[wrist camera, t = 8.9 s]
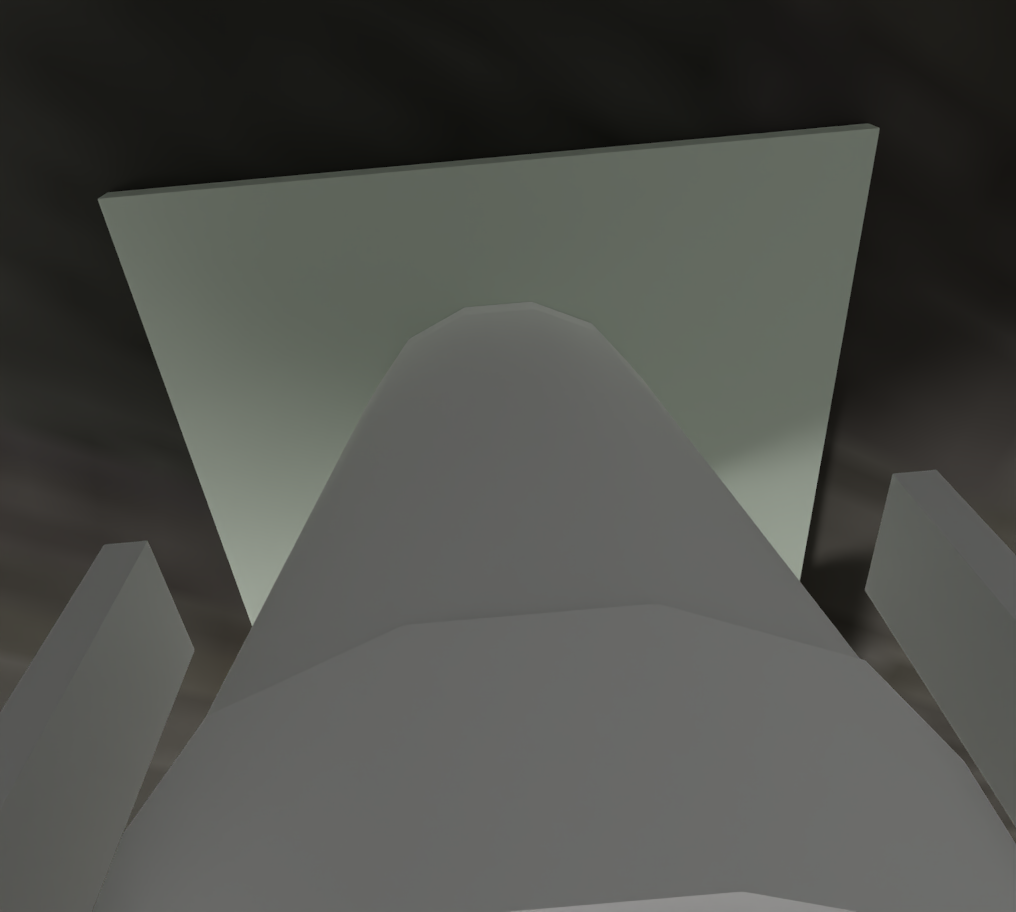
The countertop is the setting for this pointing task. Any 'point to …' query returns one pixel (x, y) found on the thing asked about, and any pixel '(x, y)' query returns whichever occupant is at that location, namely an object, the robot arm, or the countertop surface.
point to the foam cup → (549, 682)
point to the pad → (502, 280)
